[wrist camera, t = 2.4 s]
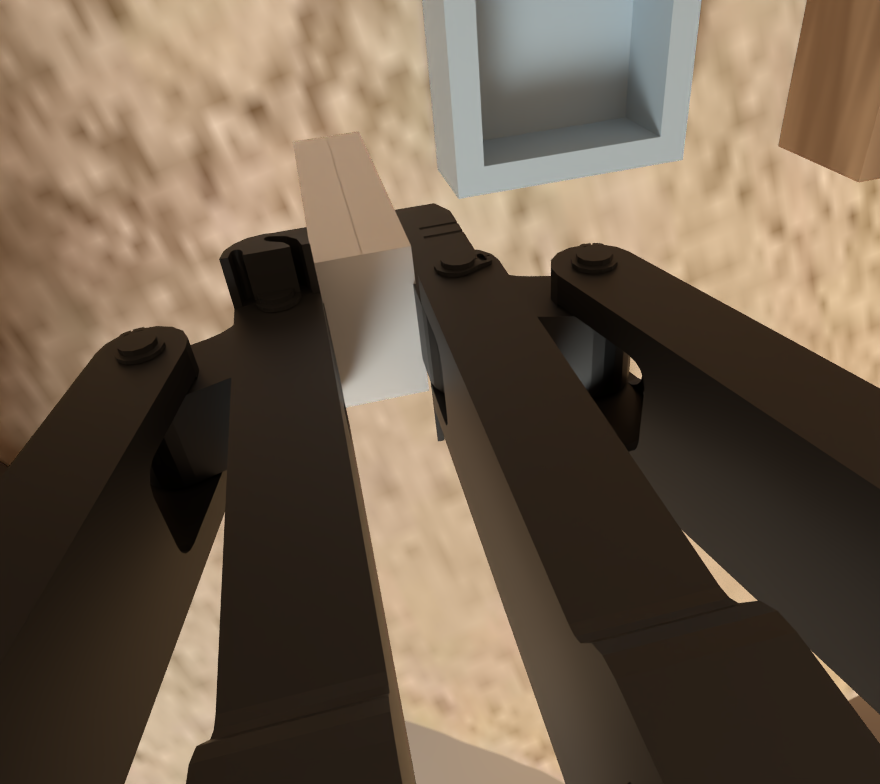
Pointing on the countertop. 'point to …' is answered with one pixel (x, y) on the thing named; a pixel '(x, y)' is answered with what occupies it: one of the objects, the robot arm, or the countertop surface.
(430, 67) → the blue gray square tray
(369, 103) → the countertop surface
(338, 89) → the countertop surface
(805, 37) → the base
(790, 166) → the countertop surface
